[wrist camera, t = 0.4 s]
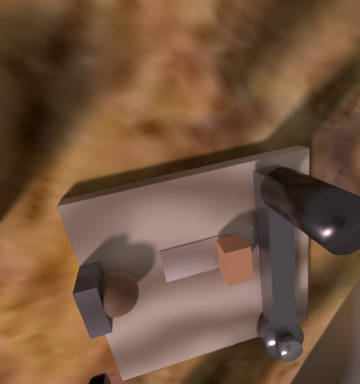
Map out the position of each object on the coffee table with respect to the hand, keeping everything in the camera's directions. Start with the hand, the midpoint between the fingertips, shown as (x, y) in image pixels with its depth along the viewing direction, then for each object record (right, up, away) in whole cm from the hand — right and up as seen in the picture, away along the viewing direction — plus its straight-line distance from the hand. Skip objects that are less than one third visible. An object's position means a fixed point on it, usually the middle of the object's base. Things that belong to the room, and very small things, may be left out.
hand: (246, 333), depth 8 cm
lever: (+6, -2, +14) cm, 15 cm away
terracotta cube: (+2, 0, +13) cm, 13 cm away
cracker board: (0, -2, +15) cm, 15 cm away
